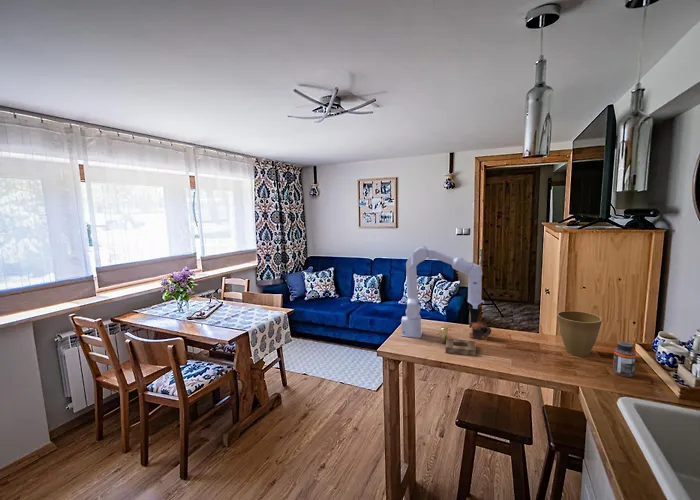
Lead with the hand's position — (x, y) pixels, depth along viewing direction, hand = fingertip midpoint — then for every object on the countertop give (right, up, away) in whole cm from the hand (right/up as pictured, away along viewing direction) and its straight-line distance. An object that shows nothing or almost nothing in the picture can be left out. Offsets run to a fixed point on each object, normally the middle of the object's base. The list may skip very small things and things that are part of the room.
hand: (474, 319), depth 148 cm
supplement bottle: (+42, -13, -32) cm, 54 cm away
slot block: (-9, -11, -8) cm, 17 cm away
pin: (-14, -11, 0) cm, 17 cm away
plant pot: (+37, -11, -15) cm, 41 cm away
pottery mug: (+5, -10, +6) cm, 12 cm away
